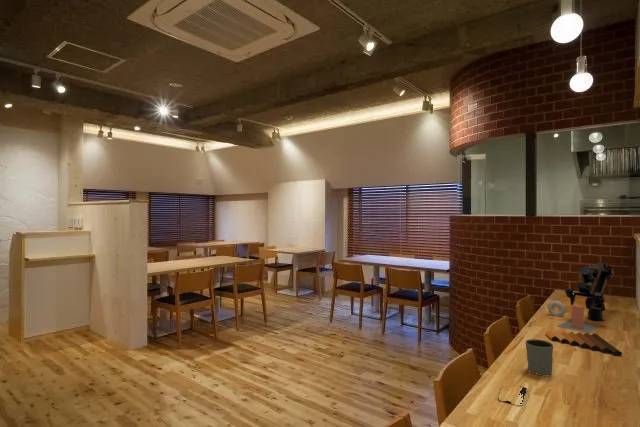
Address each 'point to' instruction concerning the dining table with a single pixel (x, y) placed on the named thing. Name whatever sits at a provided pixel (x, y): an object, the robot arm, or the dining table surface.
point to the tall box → (577, 317)
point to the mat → (587, 329)
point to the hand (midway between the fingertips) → (580, 307)
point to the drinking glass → (539, 356)
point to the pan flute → (584, 341)
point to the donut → (559, 304)
